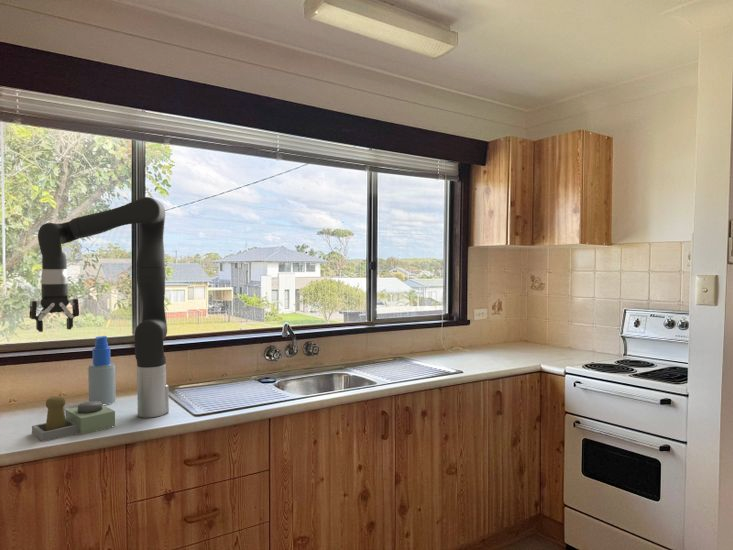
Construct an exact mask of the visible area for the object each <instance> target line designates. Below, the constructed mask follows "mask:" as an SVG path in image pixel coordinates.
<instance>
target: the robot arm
mask: <svg viewBox="0 0 733 550" xmlns="http://www.w3.org/2000/svg"><path fill="white" fill-rule="evenodd" d="M165 221H166V209H165V206H164V205H163V204H162V202H161V201H160V200H157V199H155V198H153V197H150V196H144V197H141V198H138V199H135V200H132V201H131V202H128V203H126V204H123V205H120V206H118V207H115V208H112V209H107V210H105V211H99V212H95V213H90V214H85V215H81V216H78V217H75V218H72V219H70V221H69V220H68V221H67V222H63V223H53V222H47V223H44V224H41V226H40V227H39V229H38V230H37V231H38V232H37V239H38V241H37V242H38V246H39V251H40V253H41V257H42V259H41V269H42V270H41V278H40V284H41V285H40V286H41V299H40V300H31V301H30V303H29V319H31V320H35V322H36V323H35V327H36V331H38V333H43V331H44V320H43V319H44V318H45V316H47V315H48V314H55V313H63V314H64V315H65V316H66V317H67V318H66V330H72V328H73V327H74V318H76V317H79V316H80V307H79V304H80V303H79V298H78V299H77V298H72V299H69V298H68V295H69V294H68V293H69V290H68V287H69V286H68V285H69V283H68V276H69V275H68V270H67V269H68V267H67V266H68V265H67V264H68V263H67V255H66V253H65V252H64V251H63V248H62V245H64V244H68V243H71V242H74V241H76V240H77V241H78V240H79V239H82V238H87V237H92V236H95V235H100V234H103V233H106V232H109V231H111V230H113V229H116V228H119V227H122V226H123V227H124V226H126V225H133V224H140V230H141V232H140V233H141V240H140V245H139V248H138V252H137V257H136V268H135V269H136V283H137V289H138V292H139V295H140V300H141V303H142V318H141V322H140V323H139V324H137V326H136V327H135V330H134V356H135V359H136V370H137V371H136V374H137V375H136V377H137V378H136V381H137V386H136V388H137V391H136V392H137V398H136V399H137V409H136V410H137V417H140V418H144V419H145V418H156V417H160V416H163V415H165V414H167V413H169V412H170V411H169V410H170V407H169V406H170V404H169V401H170V400H169V399H170V398H169V397H170V396H169V385H168V384H167V370H166V369H167V368H166V367H167V358H166V357H167V356H166V355H165V353H164V352H165V351H164V339H166V337H167V334H168V324H167V316H166V310H165V309H166V308H165V307H166V306H165V299H166V297H165V296H166V263H165V262H166V259H165V258H166V257H165V246H164V244H165V243H164V232H165ZM69 304H70V305H71V306H72V307H71V308H72V312H71V311H70V310H69V308H68V305H69ZM39 306H41V307H42V309H41V310H40V311H39V313H38V314H37V308H39Z"/></svg>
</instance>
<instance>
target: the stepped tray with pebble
mask: <svg viewBox="0 0 733 550" xmlns="http://www.w3.org/2000/svg"><path fill="white" fill-rule="evenodd" d="M64 412H65V419H66V425H67V427H63V428H59V429H54V430H50V431H45V428H46V422H44V423H39V424H35V425H33V424H32V425H31V435H33V436H34V437H35V438H37V439H38V440H39V439H40V440H39V441H41V442H46V441H50V440H51V441H52V440H55V439H59V437H60V438H63V436H64V437H67V436H71V435H76V433H77V434H81V435H85V434H88V433H89V432H90V433H93V431H94V432H96V430H98V431H101V430H100V429H102V430H105V429H104V428H106V429H109V428H108V427H111V428H113V427H112V426H115V427H116V410H114V409H111V408H109V407H107V405H102V402H100V401H90V402H89V401H86V402H80V403H79V404H77V406H76V407H70V408H66V409H65V408H64ZM84 433H85V434H84Z"/></svg>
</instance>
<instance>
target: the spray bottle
mask: <svg viewBox="0 0 733 550" xmlns="http://www.w3.org/2000/svg"><path fill="white" fill-rule="evenodd" d="M87 372H88V374H87V376H88V402H90V401H100V402H102V405H103V404H108V405H110V404H109V403H112V404H114V403H116V401H115V400H117V399H116V365H115V362H111V347H109V343H108V336H106V335H102V336H96V337H95V344H94V347H93V348H92V363H91V364H89V365H88V369H87ZM113 402H114V403H113ZM103 406H104V405H103Z"/></svg>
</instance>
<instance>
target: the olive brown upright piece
mask: <svg viewBox="0 0 733 550" xmlns="http://www.w3.org/2000/svg"><path fill="white" fill-rule="evenodd" d="M65 406H66V398H65V397H64V396H62V395H57V396H52V397H51V396H50V397H48V398H47V399H46V401H45V407H46V408H47V415H46V419H45V420H46V422H45V423H46V428H45V431H50V430H54V429H59V428H63V427H67V425H66V412H65V408H64V407H65Z"/></svg>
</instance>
